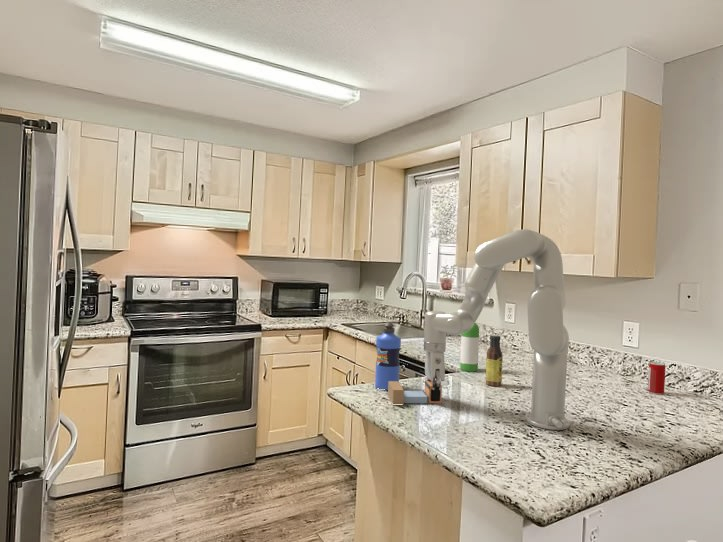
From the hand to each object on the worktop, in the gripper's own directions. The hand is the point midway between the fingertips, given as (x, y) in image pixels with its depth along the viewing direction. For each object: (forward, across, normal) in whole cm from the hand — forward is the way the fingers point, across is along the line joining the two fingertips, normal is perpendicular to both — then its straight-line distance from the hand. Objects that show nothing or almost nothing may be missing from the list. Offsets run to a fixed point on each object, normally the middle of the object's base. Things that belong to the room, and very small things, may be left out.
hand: (432, 397), depth 159 cm
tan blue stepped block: (+1, 0, +9) cm, 9 cm away
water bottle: (+1, +16, +14) cm, 21 cm away
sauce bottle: (+1, +21, -30) cm, 37 cm away
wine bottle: (+1, +45, -28) cm, 53 cm away
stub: (+1, 0, 0) cm, 1 cm away
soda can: (+1, +11, -92) cm, 93 cm away
